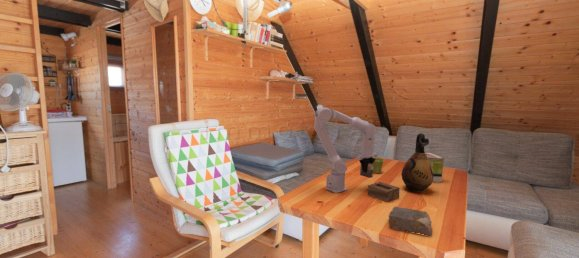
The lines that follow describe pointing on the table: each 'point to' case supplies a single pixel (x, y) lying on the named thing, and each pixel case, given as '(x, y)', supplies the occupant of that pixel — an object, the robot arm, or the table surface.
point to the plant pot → (377, 165)
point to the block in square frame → (383, 191)
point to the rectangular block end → (369, 171)
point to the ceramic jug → (418, 168)
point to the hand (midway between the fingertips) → (366, 171)
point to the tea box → (436, 166)
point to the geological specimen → (410, 220)
